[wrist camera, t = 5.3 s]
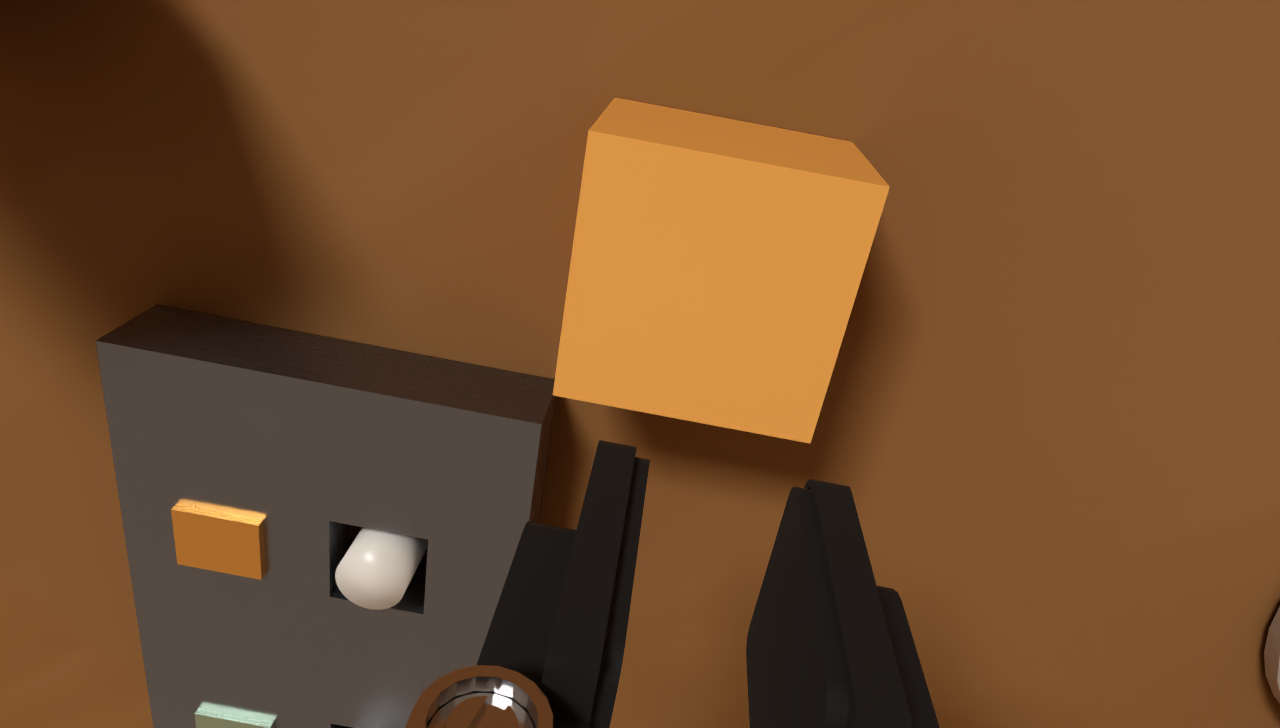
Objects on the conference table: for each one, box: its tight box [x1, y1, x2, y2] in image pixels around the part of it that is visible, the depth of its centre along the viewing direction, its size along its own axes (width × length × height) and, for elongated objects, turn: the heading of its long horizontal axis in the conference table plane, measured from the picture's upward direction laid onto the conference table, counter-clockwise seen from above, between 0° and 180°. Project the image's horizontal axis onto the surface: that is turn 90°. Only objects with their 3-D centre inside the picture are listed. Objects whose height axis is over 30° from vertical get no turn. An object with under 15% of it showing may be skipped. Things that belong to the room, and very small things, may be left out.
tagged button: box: [335, 527, 428, 610], centre depth 29 cm, size 2×2×3 cm
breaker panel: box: [96, 305, 556, 728], centre depth 31 cm, size 14×22×3 cm, turn 170°
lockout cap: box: [553, 98, 890, 443], centre depth 22 cm, size 7×7×6 cm
